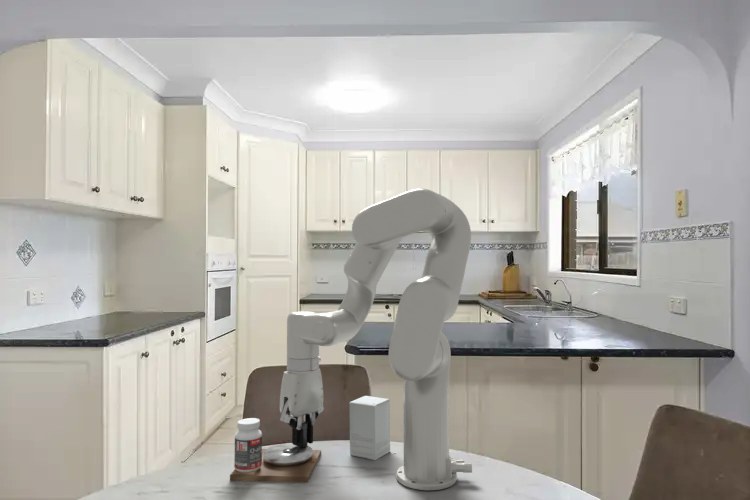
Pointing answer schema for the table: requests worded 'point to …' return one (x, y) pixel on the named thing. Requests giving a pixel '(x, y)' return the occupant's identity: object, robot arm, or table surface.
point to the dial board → (280, 471)
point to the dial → (289, 451)
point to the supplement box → (369, 427)
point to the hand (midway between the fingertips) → (302, 443)
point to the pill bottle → (248, 445)
